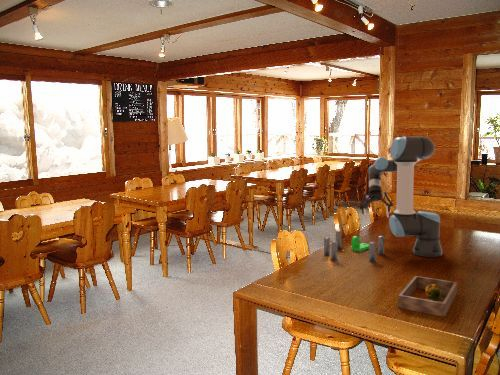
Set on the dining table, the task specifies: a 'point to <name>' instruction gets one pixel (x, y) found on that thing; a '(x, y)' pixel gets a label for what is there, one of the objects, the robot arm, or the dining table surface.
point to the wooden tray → (424, 304)
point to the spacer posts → (337, 244)
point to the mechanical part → (358, 244)
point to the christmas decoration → (435, 292)
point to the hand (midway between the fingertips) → (376, 217)
